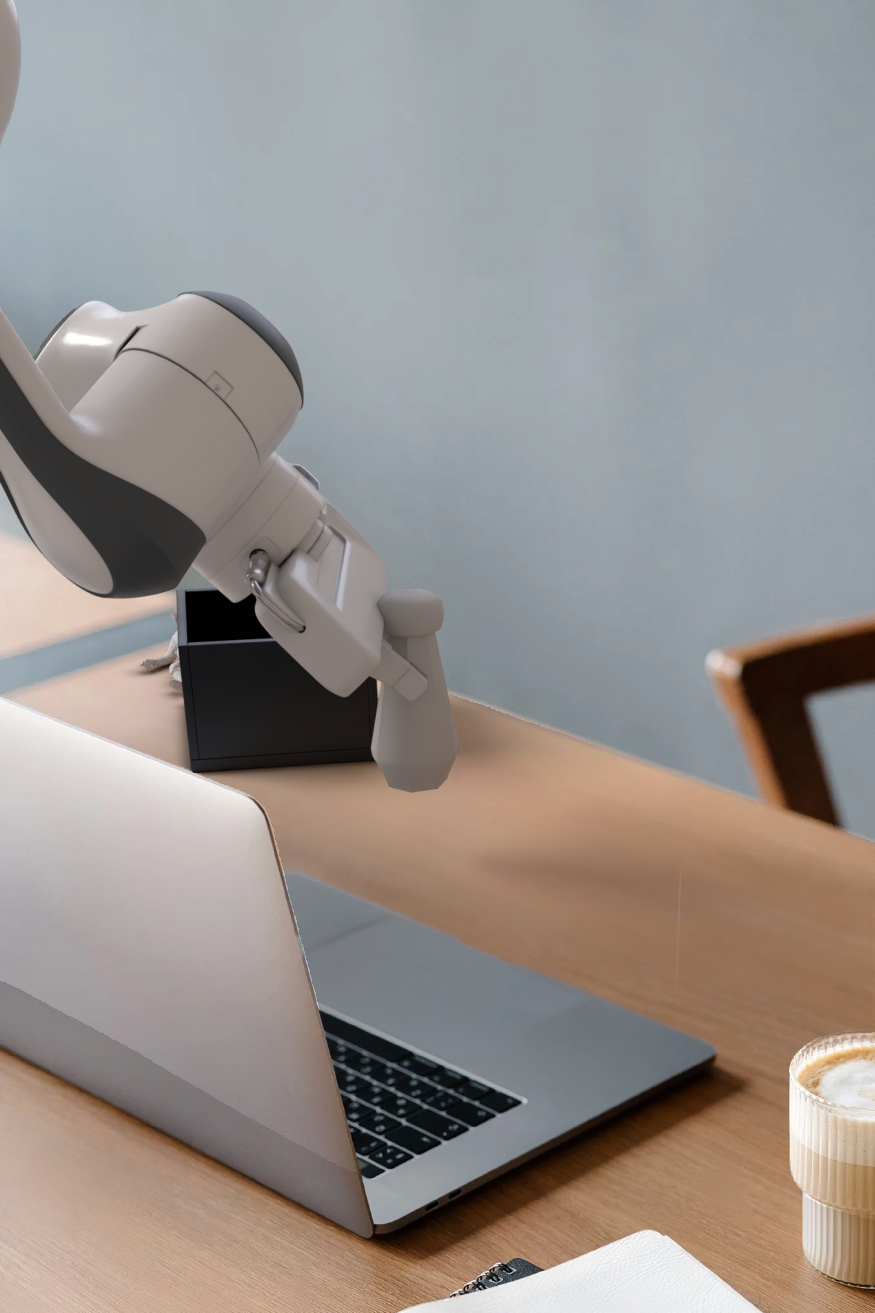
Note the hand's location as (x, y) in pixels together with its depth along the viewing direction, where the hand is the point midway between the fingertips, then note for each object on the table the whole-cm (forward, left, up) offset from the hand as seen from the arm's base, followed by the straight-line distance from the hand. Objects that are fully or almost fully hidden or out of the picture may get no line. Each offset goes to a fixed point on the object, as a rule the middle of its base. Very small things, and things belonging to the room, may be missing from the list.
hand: (421, 679), depth 119 cm
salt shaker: (-1, 0, -7) cm, 7 cm away
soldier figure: (-16, +42, -13) cm, 46 cm away
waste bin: (-9, +26, -13) cm, 30 cm away
